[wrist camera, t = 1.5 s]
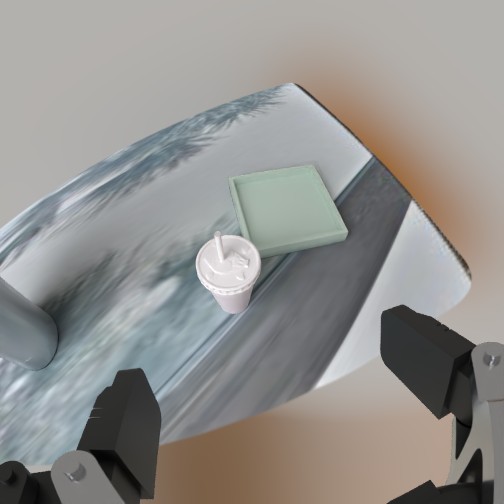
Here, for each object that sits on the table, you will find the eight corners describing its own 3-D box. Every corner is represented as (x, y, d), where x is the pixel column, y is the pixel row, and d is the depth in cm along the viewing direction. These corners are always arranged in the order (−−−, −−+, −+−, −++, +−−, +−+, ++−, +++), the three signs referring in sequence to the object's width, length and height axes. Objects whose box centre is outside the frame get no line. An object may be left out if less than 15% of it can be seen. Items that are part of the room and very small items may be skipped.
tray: (248, 261, 40) (248, 252, 38) (229, 187, 47) (228, 177, 45) (344, 240, 42) (348, 232, 40) (311, 173, 49) (313, 164, 47)
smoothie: (213, 274, 39) (196, 203, 27) (262, 280, 39) (266, 209, 27) (204, 320, 36) (178, 263, 24) (256, 327, 35) (257, 272, 23)
